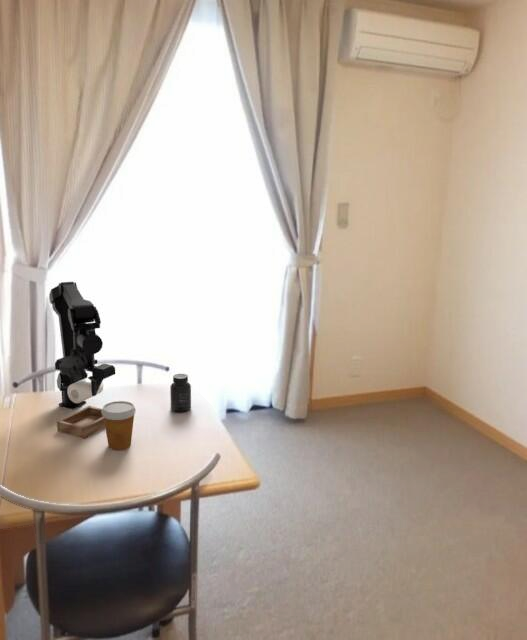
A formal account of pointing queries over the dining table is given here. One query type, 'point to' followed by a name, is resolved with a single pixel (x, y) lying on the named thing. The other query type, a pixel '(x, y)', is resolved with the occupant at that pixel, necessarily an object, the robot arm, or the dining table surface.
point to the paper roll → (81, 390)
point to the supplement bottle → (180, 394)
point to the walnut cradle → (82, 422)
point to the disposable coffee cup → (119, 424)
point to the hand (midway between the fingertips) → (85, 393)
